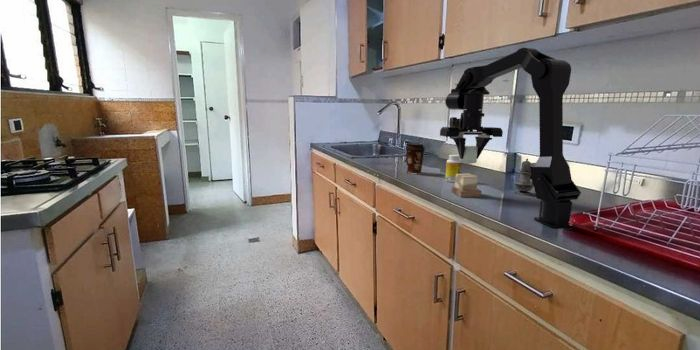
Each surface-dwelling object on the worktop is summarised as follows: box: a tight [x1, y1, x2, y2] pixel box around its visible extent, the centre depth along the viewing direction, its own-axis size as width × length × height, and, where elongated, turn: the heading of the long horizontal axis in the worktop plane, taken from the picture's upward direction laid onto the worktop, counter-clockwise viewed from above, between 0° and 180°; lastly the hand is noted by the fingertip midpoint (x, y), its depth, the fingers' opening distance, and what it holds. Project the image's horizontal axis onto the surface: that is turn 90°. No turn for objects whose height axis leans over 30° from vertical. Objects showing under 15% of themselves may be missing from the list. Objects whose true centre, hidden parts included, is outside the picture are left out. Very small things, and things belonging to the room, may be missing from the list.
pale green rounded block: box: [460, 145, 478, 164], centre depth 109 cm, size 5×5×5 cm
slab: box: [450, 186, 482, 198], centre depth 111 cm, size 7×7×2 cm
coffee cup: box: [405, 142, 426, 175], centre depth 147 cm, size 9×8×13 cm
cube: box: [454, 173, 478, 190], centre depth 111 cm, size 5×5×4 cm
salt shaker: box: [514, 158, 534, 197], centre depth 112 cm, size 6×6×12 cm
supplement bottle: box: [445, 154, 462, 183], centre depth 131 cm, size 6×6×10 cm
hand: (468, 158), depth 109 cm, fingers closed on pale green rounded block, 5 cm apart
